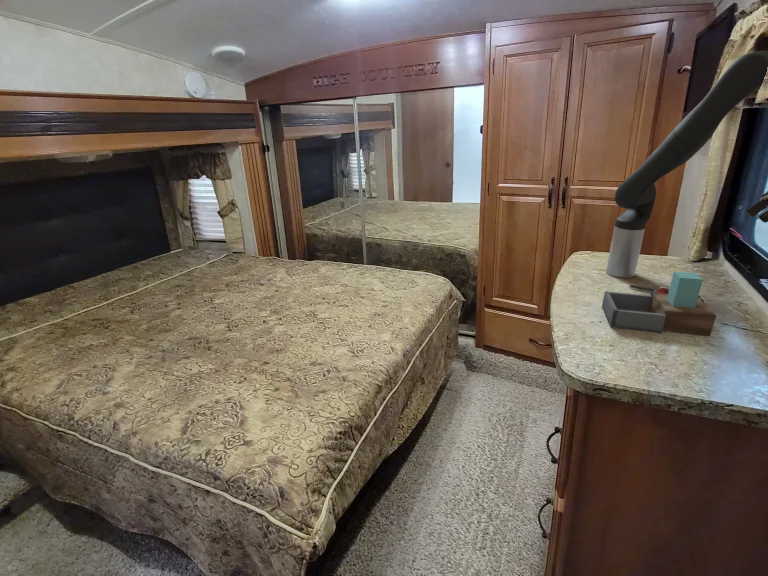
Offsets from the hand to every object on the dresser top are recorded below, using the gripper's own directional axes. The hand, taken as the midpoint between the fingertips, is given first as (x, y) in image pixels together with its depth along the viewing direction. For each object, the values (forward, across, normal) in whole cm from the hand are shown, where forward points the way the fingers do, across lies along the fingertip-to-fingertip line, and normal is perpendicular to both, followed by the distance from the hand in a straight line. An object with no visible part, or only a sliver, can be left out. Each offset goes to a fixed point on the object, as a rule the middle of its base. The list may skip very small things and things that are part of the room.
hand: (754, 216), depth 102 cm
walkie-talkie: (+30, -14, +11) cm, 34 cm away
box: (+37, +6, +2) cm, 37 cm away
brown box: (+29, +5, +11) cm, 32 cm away
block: (+25, +5, +7) cm, 26 cm away
